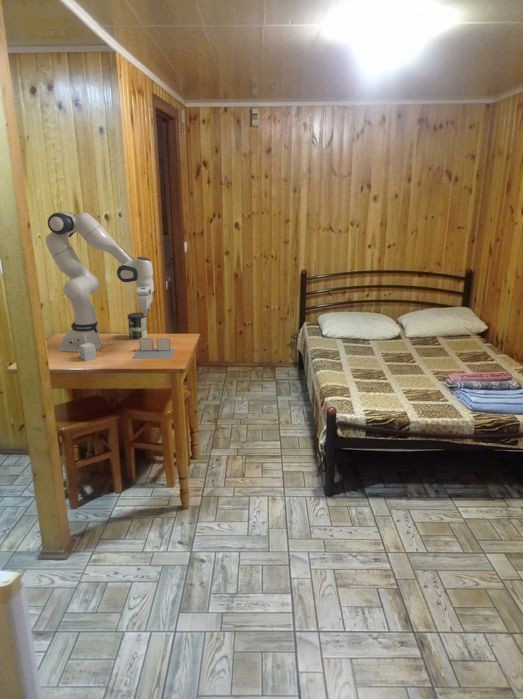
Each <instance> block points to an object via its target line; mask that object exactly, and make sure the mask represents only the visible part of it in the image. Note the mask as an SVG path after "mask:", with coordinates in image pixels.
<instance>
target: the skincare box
mask: <svg viewBox="0 0 523 699" xmlns="http://www.w3.org/2000/svg"><path fill="white" fill-rule="evenodd" d="M79 350H80V352H79V357H80V359H81V360H83V361H85V362H86V361H87V362H88V361H92V360H95V359H97V352H96V350H95V345H93V344H91V343H85V344H81V345H79Z"/></svg>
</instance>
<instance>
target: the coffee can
mask: <svg viewBox="0 0 523 699" xmlns="http://www.w3.org/2000/svg"><path fill="white" fill-rule="evenodd" d="M127 320H128V322H127V323H128V335H129V340H132V341H140V339H139V338H148V328H147V316H144V313H143V312H131V313H128V314H127Z"/></svg>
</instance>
